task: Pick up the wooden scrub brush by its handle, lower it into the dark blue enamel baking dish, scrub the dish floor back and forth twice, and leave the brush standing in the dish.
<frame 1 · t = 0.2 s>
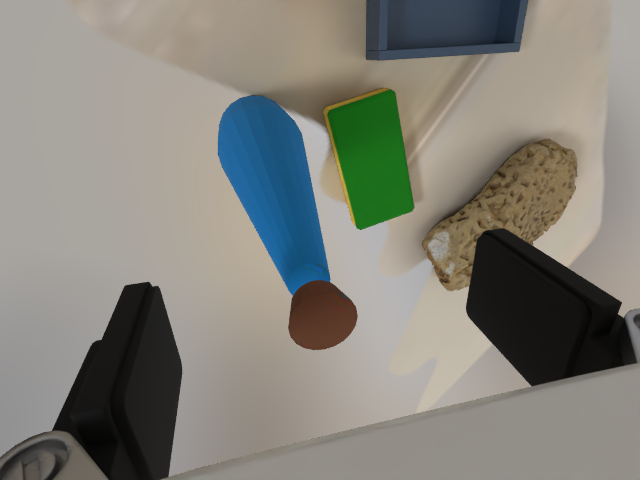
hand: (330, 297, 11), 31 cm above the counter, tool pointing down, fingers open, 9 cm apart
bottle: (255, 133, 39), on the counter
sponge: (483, 206, 49), on the counter
dish sponge: (367, 159, 42), on the counter
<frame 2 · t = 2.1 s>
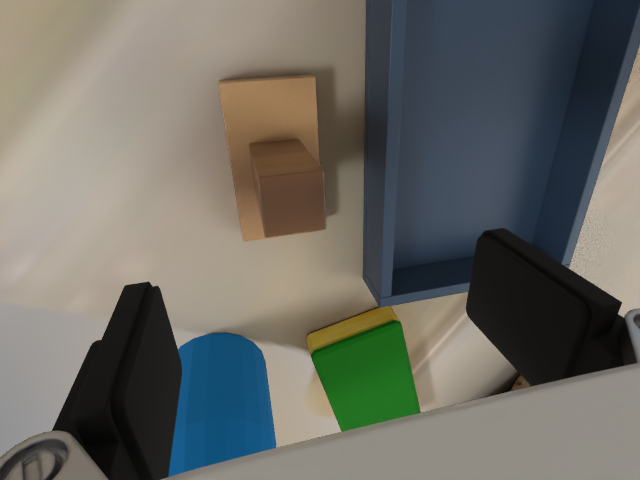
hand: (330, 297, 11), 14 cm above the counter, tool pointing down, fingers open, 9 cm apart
baking dish: (476, 89, 23), on the counter
scrub brush: (273, 158, 23), on the counter
bottle: (217, 368, 29), on the counter
dish sponge: (364, 373, 33), on the counter
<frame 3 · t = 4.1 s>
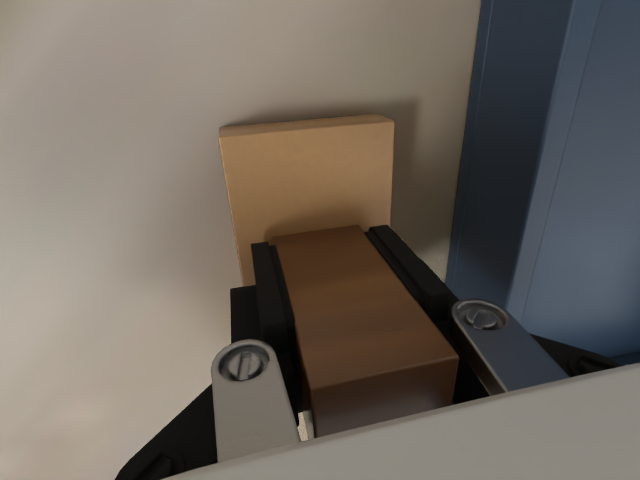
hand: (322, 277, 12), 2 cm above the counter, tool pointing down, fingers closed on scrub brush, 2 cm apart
baking dish: (632, 131, 15), on the counter
scrub brush: (309, 247, 14), on the counter, touching gripper
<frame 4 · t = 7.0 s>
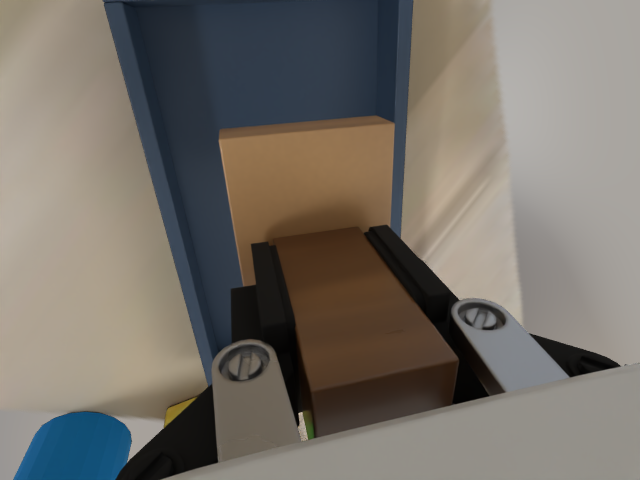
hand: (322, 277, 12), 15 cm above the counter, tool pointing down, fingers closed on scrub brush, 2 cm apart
baking dish: (283, 204, 26), on the counter
scrub brush: (309, 248, 14), point 13 cm above the counter, touching gripper
bottle: (84, 440, 32), on the counter
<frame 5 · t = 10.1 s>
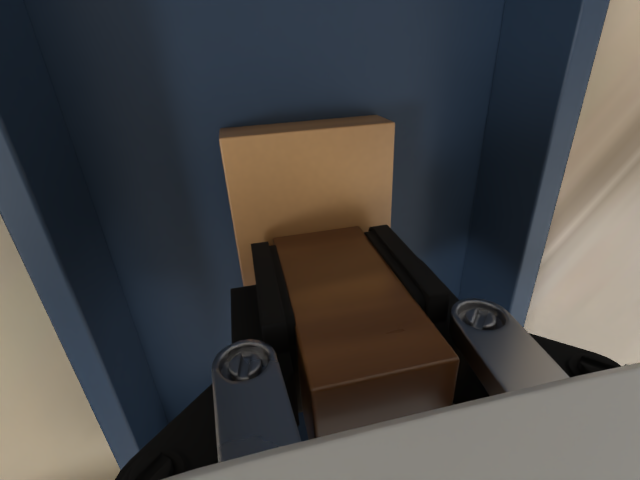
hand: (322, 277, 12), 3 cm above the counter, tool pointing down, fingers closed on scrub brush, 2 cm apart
baking dish: (298, 132, 12), on the counter
scrub brush: (309, 248, 14), point 1 cm above the counter, touching gripper
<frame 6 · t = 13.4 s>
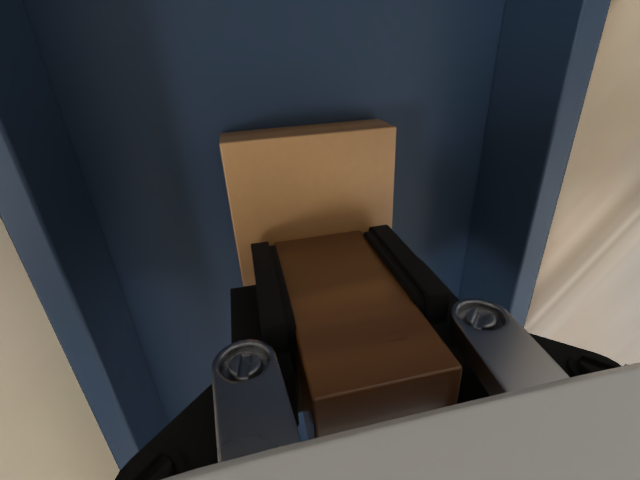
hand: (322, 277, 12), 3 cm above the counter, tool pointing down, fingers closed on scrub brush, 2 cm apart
baking dish: (306, 246, 14), on the counter
scrub brush: (310, 252, 14), point 1 cm above the counter, touching gripper
when the fingers open (3 cm above the counter, at t = 16.0 s): scrub brush stays where it is, resting on baking dish.
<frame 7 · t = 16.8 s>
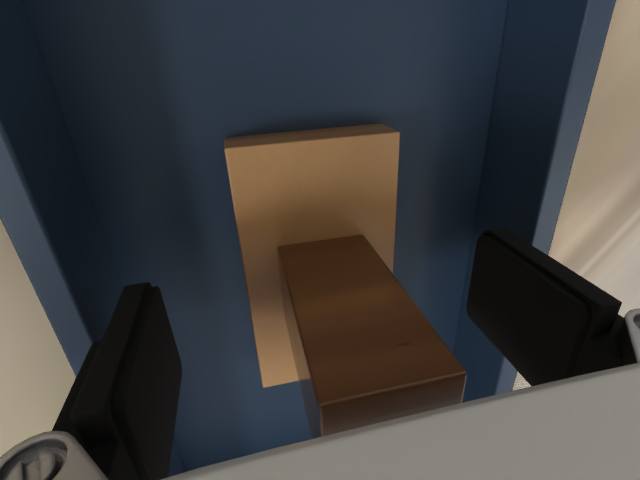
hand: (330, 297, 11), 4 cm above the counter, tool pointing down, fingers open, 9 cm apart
baking dish: (308, 242, 14), on the counter
scrub brush: (313, 255, 14), point 1 cm above the counter, touching baking dish
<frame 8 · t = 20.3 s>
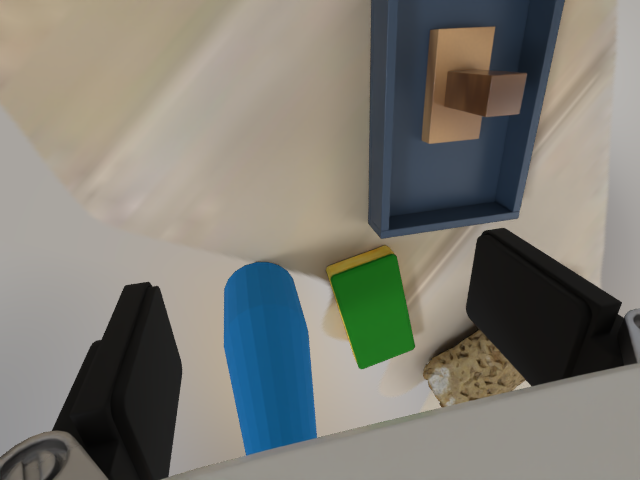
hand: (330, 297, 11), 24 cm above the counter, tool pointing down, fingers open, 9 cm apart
baking dish: (447, 83, 34), on the counter
scrub brush: (451, 86, 33), point 1 cm above the counter, touching baking dish
bottle: (260, 291, 39), on the counter
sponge: (483, 331, 50), on the counter
dish sponge: (368, 303, 43), on the counter
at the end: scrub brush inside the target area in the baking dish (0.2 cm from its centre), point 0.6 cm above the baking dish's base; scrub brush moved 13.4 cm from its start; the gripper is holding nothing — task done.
